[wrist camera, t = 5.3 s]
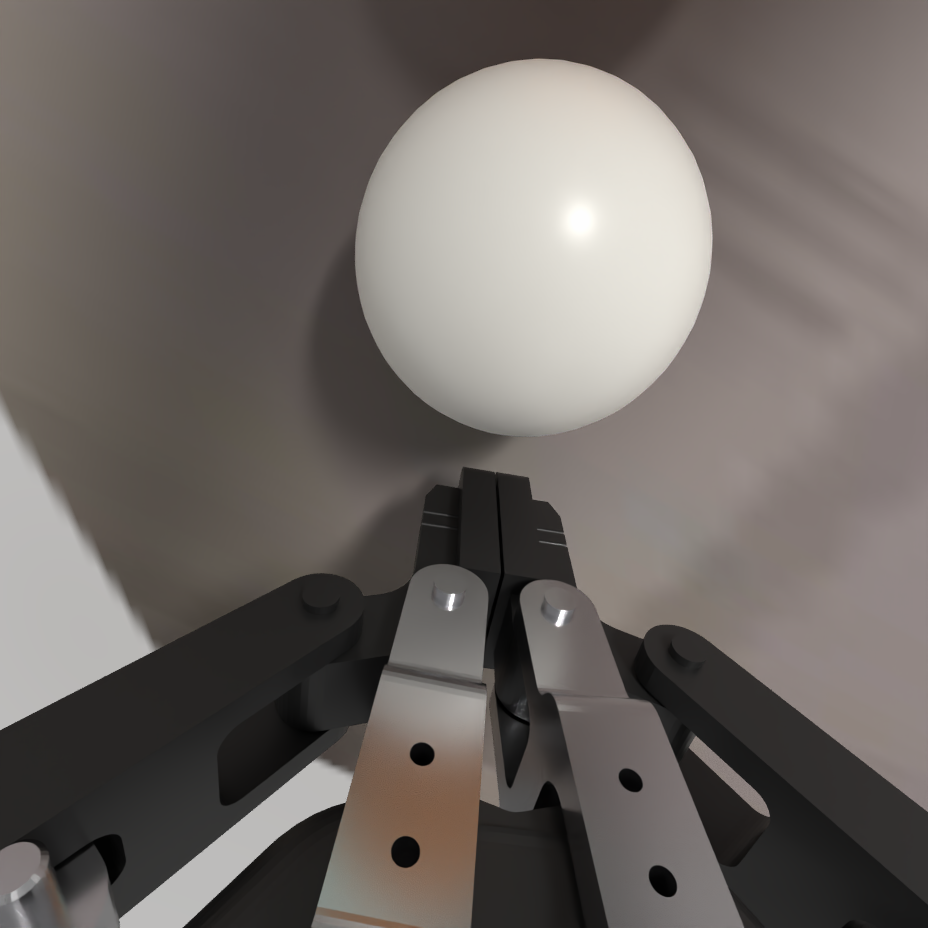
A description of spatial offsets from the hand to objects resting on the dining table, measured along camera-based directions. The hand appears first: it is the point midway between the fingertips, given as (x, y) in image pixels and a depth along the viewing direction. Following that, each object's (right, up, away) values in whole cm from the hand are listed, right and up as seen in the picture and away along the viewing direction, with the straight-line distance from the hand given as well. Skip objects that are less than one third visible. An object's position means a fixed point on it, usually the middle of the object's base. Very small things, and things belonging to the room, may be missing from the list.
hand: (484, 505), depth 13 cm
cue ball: (+1, +4, -4) cm, 6 cm away
